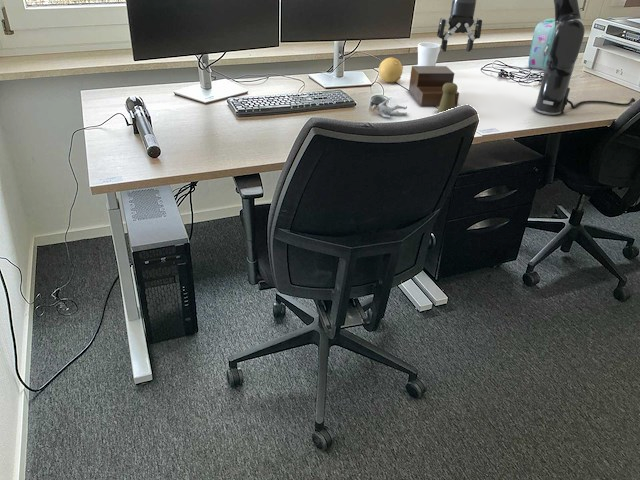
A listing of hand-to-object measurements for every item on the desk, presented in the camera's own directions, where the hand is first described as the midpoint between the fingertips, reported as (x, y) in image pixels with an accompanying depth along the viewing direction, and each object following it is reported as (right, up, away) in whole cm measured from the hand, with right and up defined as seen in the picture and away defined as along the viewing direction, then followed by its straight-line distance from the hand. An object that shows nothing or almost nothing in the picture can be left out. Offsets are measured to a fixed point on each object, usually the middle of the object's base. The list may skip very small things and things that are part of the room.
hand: (456, 51), depth 185 cm
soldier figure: (-22, -20, +9) cm, 31 cm away
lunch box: (+59, +18, +73) cm, 96 cm away
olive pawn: (-1, -19, +12) cm, 22 cm away
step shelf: (-3, -9, +26) cm, 28 cm away
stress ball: (-17, +2, +43) cm, 46 cm away
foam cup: (0, +7, +52) cm, 53 cm away
